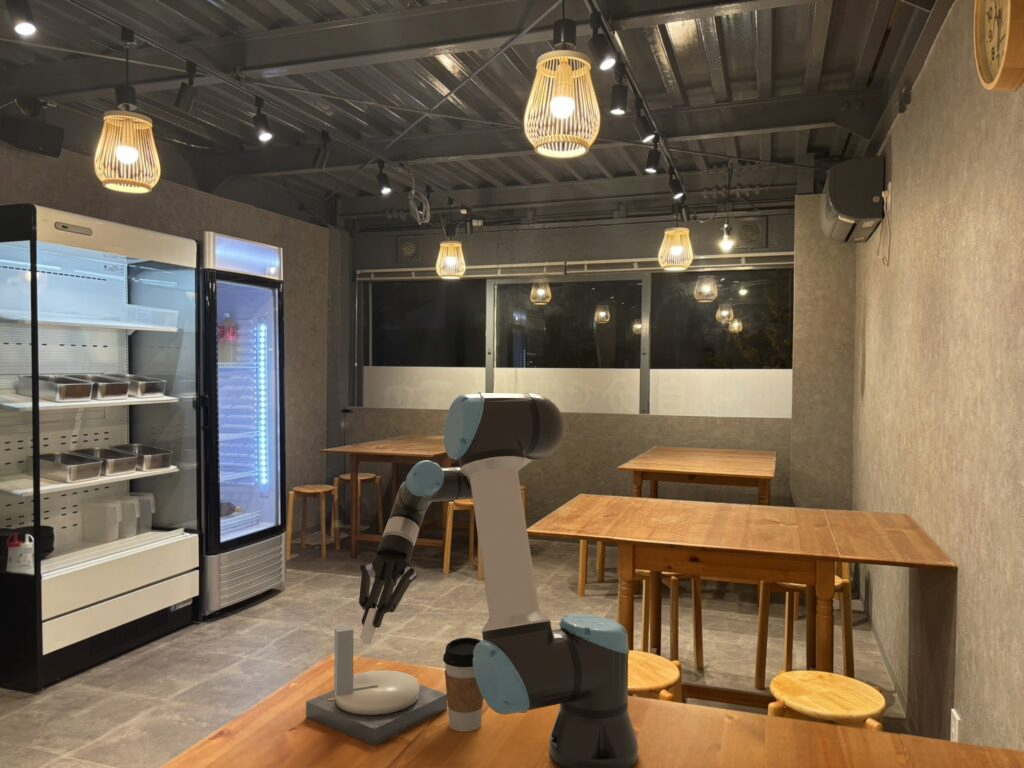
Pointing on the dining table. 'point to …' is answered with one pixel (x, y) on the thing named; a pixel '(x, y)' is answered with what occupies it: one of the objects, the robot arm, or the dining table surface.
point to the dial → (368, 682)
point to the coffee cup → (462, 685)
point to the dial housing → (376, 716)
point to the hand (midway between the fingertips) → (365, 640)
